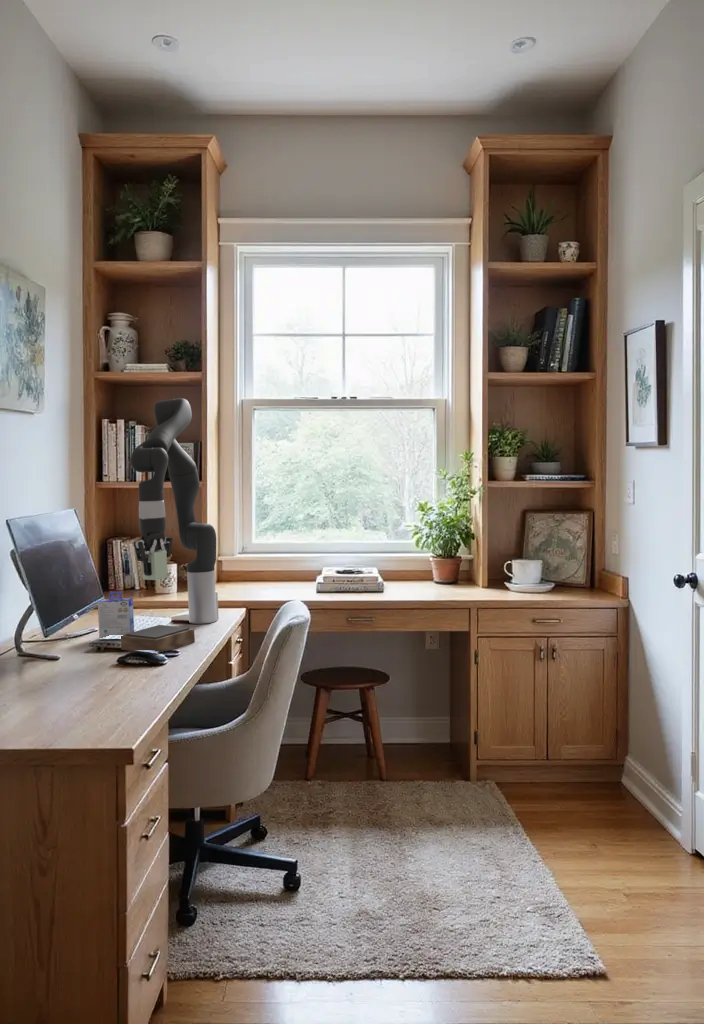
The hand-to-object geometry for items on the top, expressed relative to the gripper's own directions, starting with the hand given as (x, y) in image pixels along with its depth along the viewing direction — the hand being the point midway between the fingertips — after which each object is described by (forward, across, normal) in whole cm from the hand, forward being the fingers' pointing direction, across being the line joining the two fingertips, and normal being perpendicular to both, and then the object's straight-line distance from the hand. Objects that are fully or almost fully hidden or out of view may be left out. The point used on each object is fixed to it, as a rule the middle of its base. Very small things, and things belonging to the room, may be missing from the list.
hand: (155, 573), depth 242 cm
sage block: (+1, 0, 0) cm, 1 cm away
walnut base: (+21, 0, 0) cm, 21 cm away
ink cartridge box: (+22, -3, -20) cm, 30 cm away
